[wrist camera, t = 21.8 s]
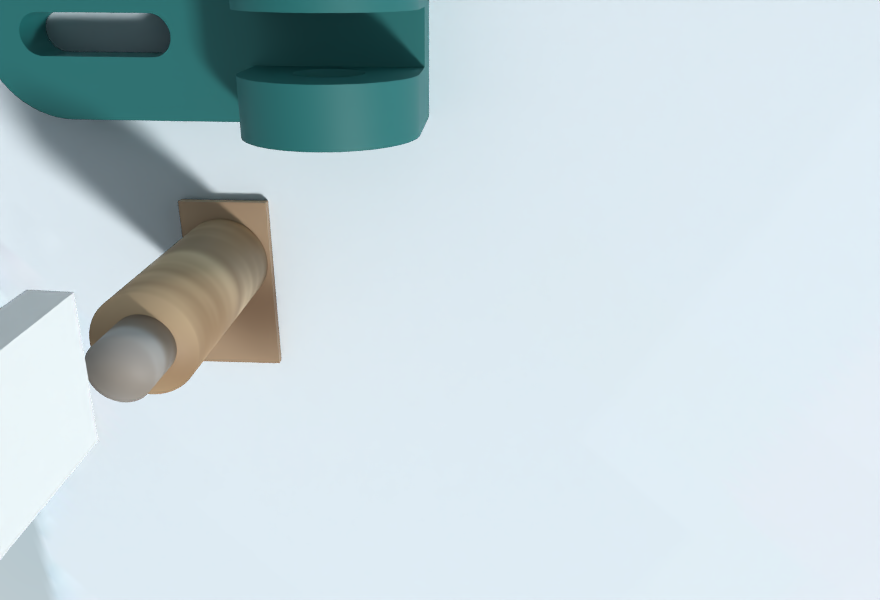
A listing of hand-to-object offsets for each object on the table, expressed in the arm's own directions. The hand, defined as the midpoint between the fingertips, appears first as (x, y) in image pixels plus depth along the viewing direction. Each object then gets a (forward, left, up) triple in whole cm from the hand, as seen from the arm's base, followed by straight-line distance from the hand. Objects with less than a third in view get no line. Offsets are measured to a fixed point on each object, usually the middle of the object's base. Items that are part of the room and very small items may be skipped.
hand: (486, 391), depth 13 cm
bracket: (-4, -12, -24) cm, 27 cm away
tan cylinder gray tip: (+6, -12, -23) cm, 27 cm away
